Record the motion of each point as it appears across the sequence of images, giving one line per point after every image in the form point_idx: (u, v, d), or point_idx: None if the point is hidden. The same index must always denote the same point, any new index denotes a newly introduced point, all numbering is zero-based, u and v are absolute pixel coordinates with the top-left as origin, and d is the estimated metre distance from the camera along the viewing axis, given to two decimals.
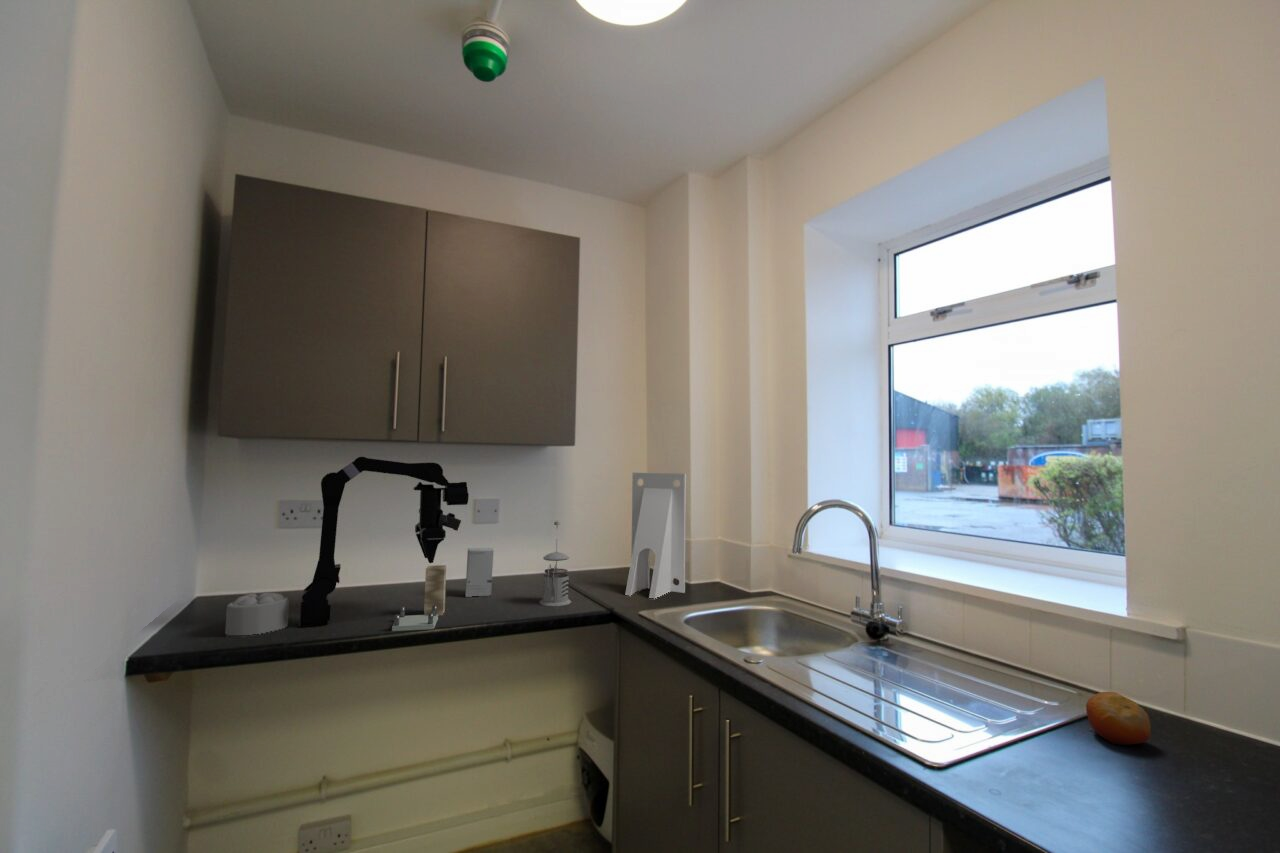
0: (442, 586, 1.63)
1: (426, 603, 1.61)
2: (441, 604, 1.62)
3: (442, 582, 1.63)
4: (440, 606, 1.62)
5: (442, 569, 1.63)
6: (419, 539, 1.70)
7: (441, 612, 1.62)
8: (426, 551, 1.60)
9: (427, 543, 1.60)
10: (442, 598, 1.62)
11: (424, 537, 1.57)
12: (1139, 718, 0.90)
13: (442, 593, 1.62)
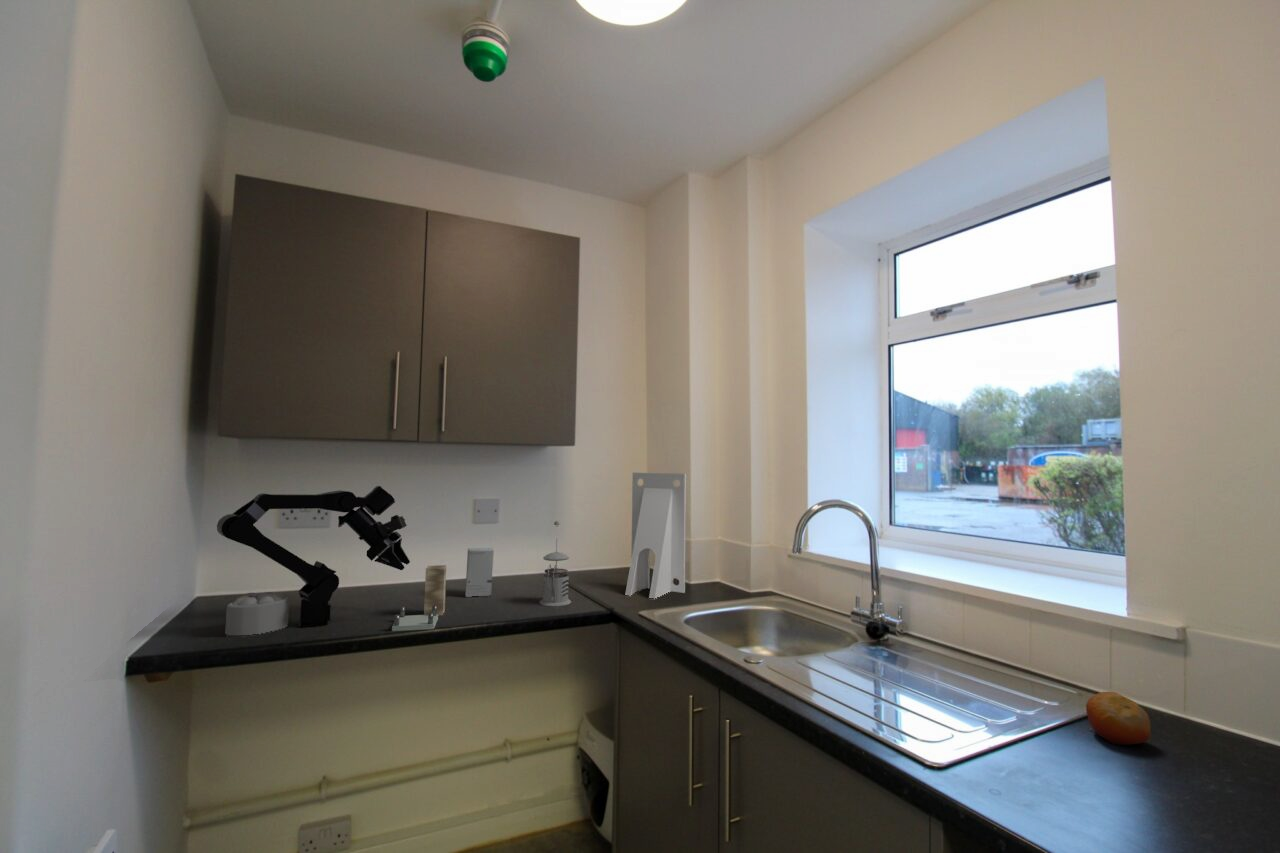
0: (442, 586, 1.63)
1: (426, 603, 1.61)
2: (441, 604, 1.62)
3: (442, 582, 1.63)
4: (440, 606, 1.62)
5: (442, 569, 1.63)
6: None
7: (441, 612, 1.62)
8: (389, 564, 1.57)
9: (383, 558, 1.56)
10: (442, 598, 1.62)
11: (371, 558, 1.53)
12: (1139, 718, 0.90)
13: (442, 593, 1.62)
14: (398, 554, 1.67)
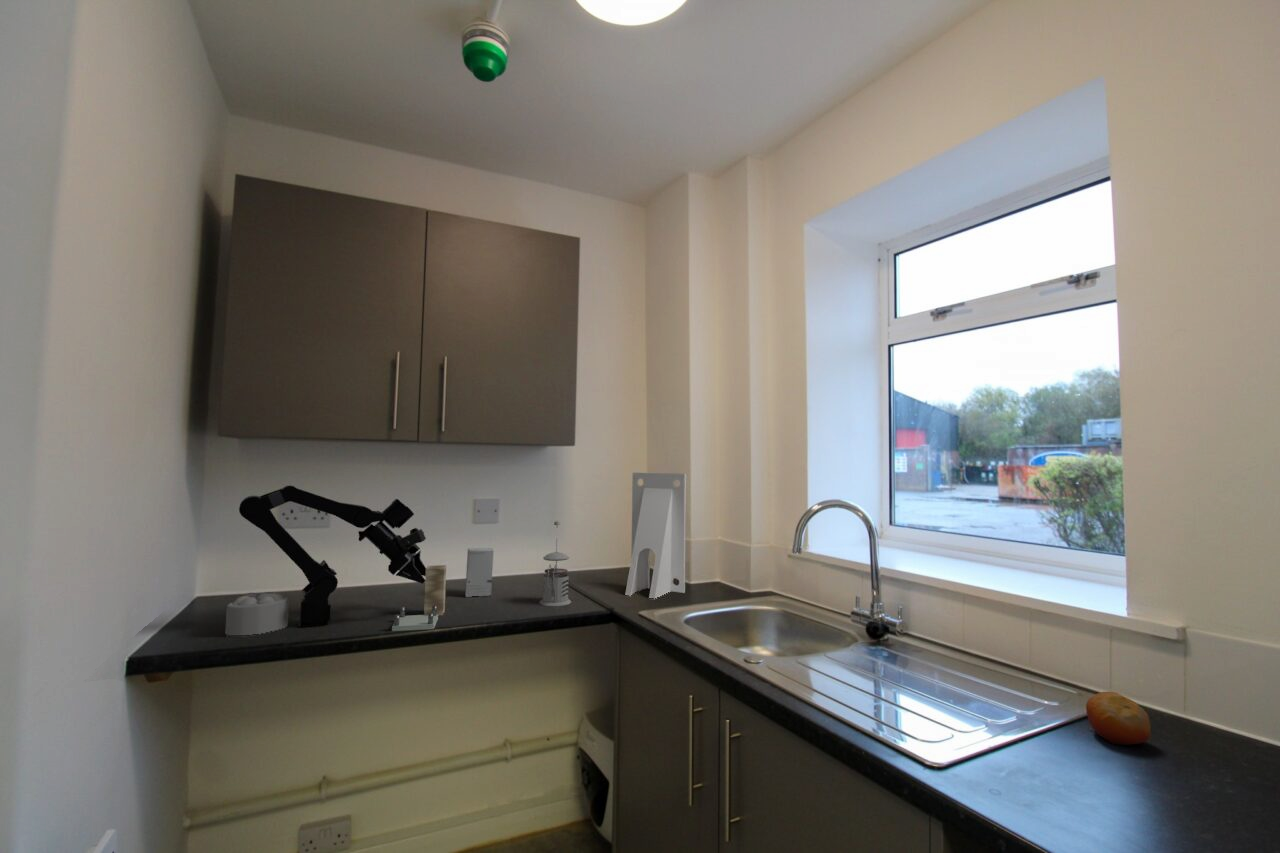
0: (442, 586, 1.63)
1: (426, 603, 1.61)
2: (441, 604, 1.62)
3: (442, 582, 1.63)
4: (440, 606, 1.62)
5: (442, 569, 1.63)
6: None
7: (441, 612, 1.62)
8: (410, 578, 1.58)
9: (404, 572, 1.57)
10: (442, 598, 1.62)
11: (393, 572, 1.54)
12: (1139, 718, 0.90)
13: (442, 593, 1.62)
14: (417, 566, 1.68)
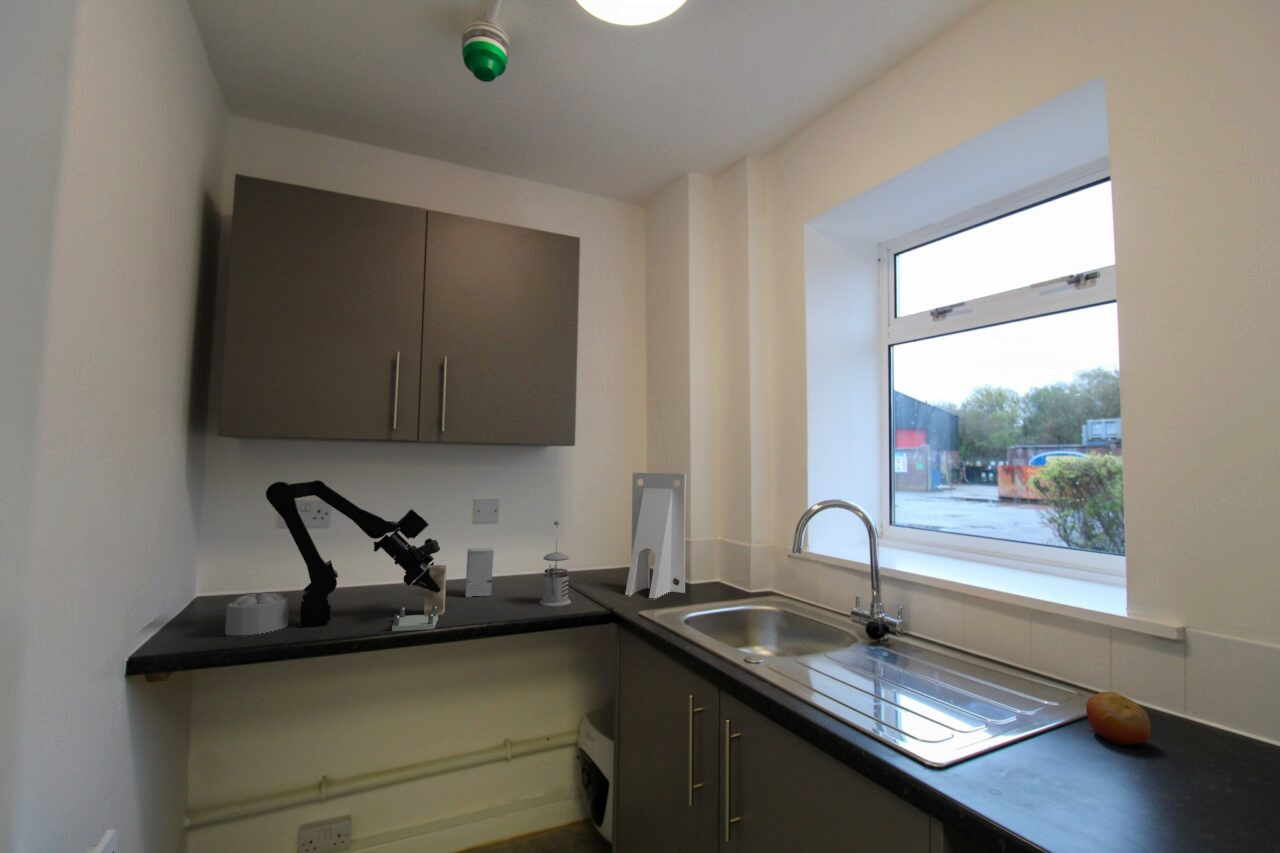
0: (442, 586, 1.63)
1: (426, 603, 1.61)
2: (441, 604, 1.62)
3: (442, 582, 1.63)
4: (440, 606, 1.62)
5: (442, 569, 1.63)
6: None
7: (441, 612, 1.62)
8: (426, 587, 1.60)
9: (420, 582, 1.60)
10: (442, 598, 1.62)
11: (408, 583, 1.54)
12: (1139, 718, 0.90)
13: (442, 593, 1.63)
14: None
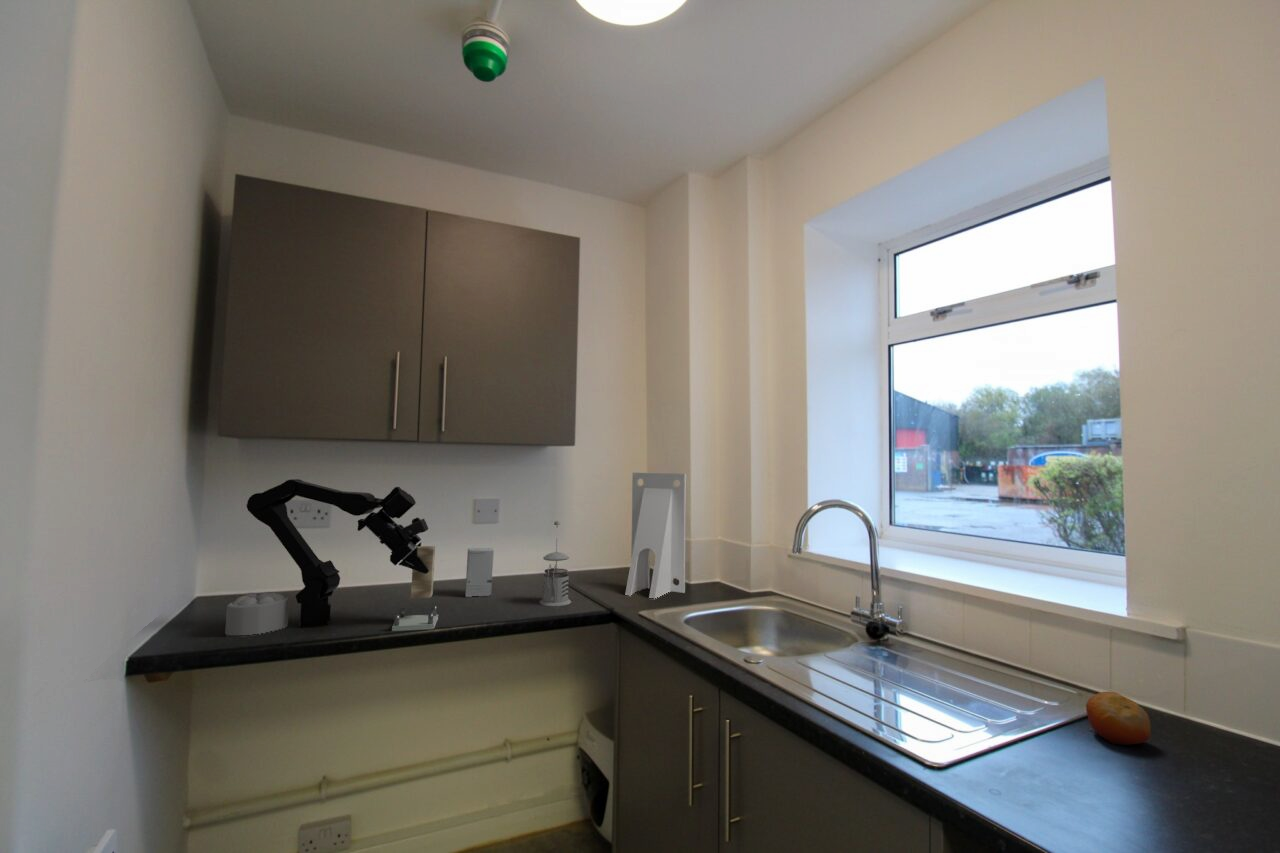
0: (430, 567, 1.55)
1: (413, 584, 1.54)
2: (429, 586, 1.54)
3: (430, 563, 1.55)
4: (427, 588, 1.54)
5: (431, 549, 1.55)
6: None
7: (429, 594, 1.54)
8: (413, 568, 1.53)
9: (407, 562, 1.52)
10: (430, 579, 1.55)
11: (395, 563, 1.47)
12: (1139, 718, 0.90)
13: (430, 574, 1.55)
14: None
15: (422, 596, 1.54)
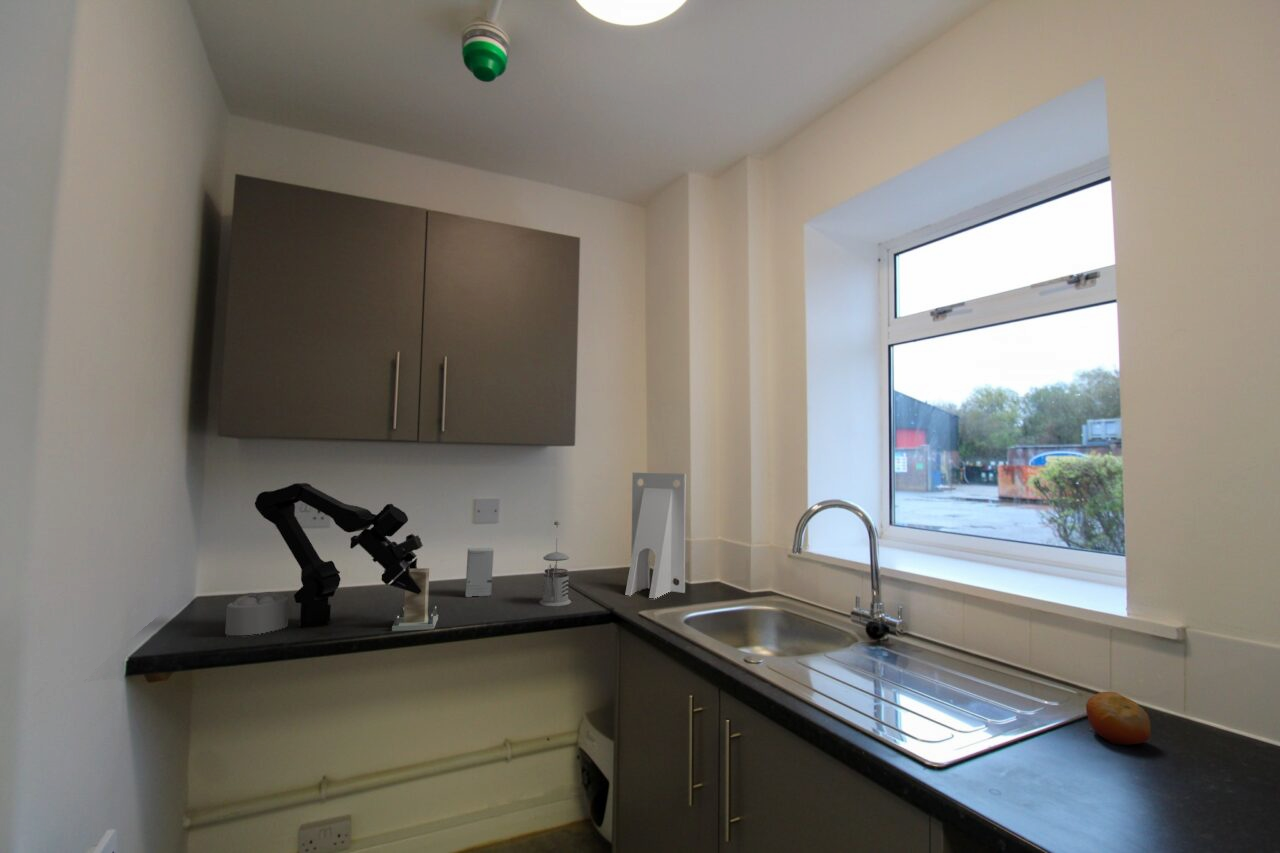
0: (424, 591, 1.51)
1: (406, 609, 1.50)
2: (422, 610, 1.51)
3: (424, 586, 1.51)
4: (421, 613, 1.51)
5: (424, 572, 1.51)
6: None
7: (422, 619, 1.51)
8: (405, 588, 1.47)
9: (399, 582, 1.46)
10: (424, 604, 1.51)
11: (387, 582, 1.43)
12: (1139, 718, 0.90)
13: (424, 598, 1.51)
14: None
15: (416, 621, 1.50)
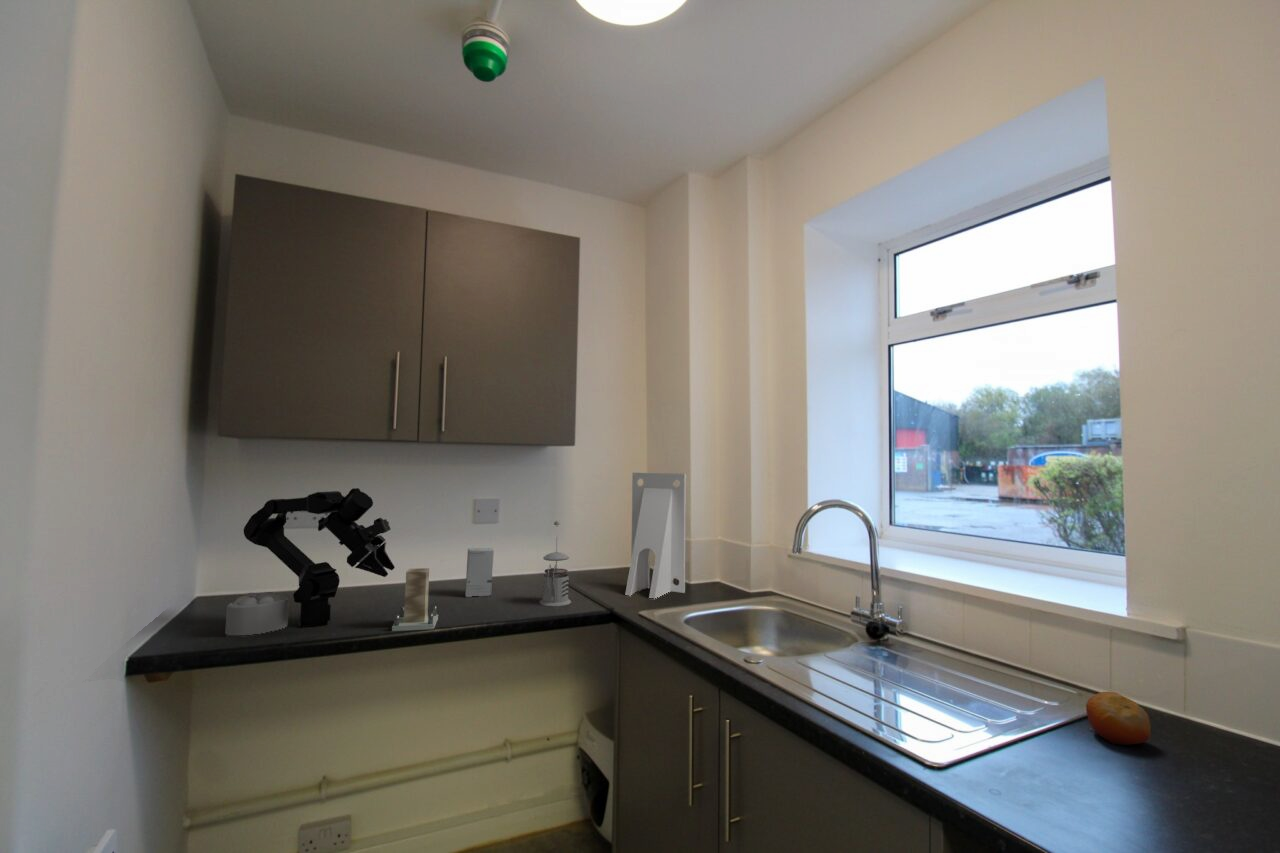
0: (424, 591, 1.51)
1: (406, 609, 1.50)
2: (422, 610, 1.51)
3: (424, 586, 1.51)
4: (421, 613, 1.51)
5: (424, 572, 1.51)
6: None
7: (422, 619, 1.51)
8: (371, 571, 1.47)
9: (365, 565, 1.47)
10: (424, 604, 1.51)
11: (352, 564, 1.43)
12: (1139, 718, 0.90)
13: (424, 598, 1.51)
14: (381, 559, 1.58)
15: (416, 621, 1.50)
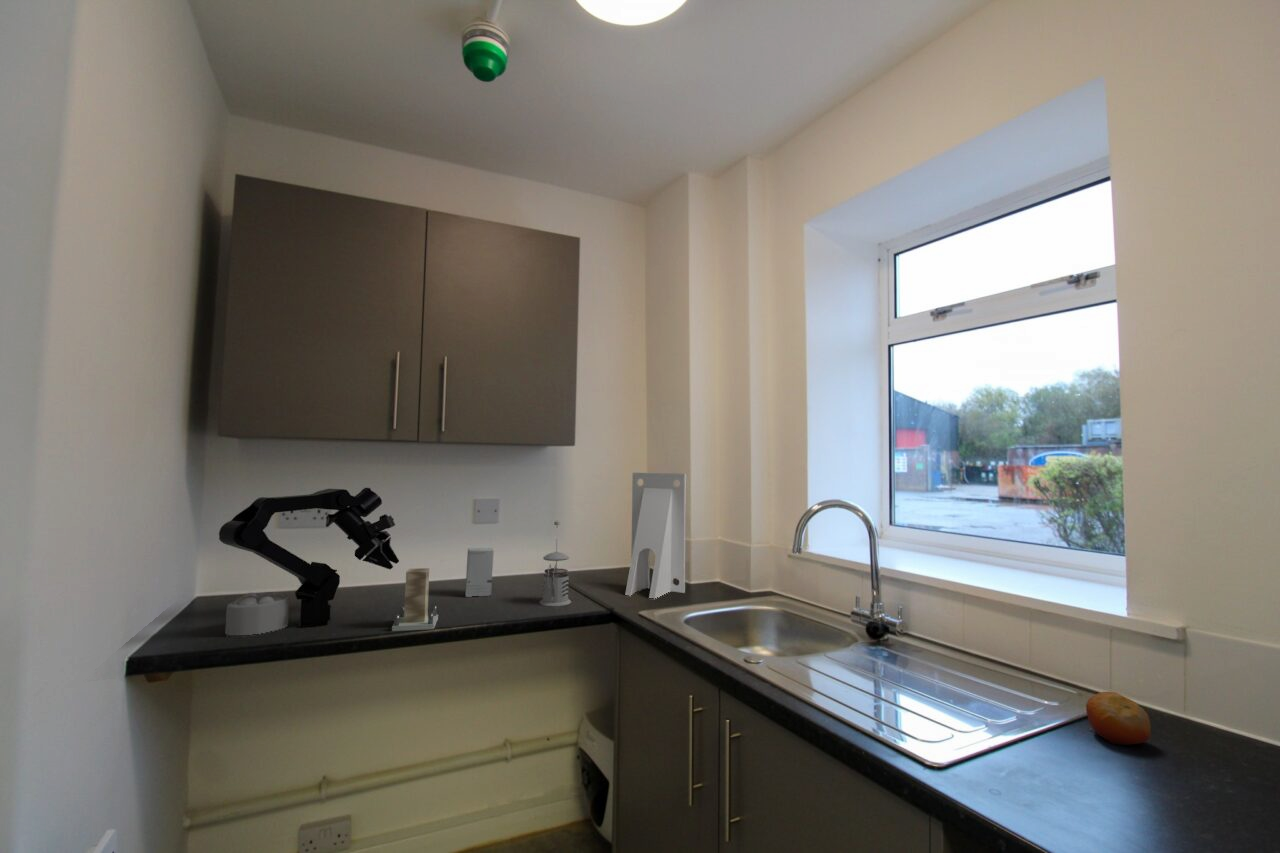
0: (424, 591, 1.51)
1: (406, 609, 1.50)
2: (422, 610, 1.51)
3: (424, 586, 1.51)
4: (421, 613, 1.51)
5: (424, 572, 1.51)
6: None
7: (422, 619, 1.51)
8: (377, 564, 1.57)
9: (371, 558, 1.56)
10: (424, 604, 1.51)
11: (359, 557, 1.53)
12: (1139, 718, 0.90)
13: (424, 598, 1.51)
14: (387, 553, 1.67)
15: (416, 621, 1.50)
